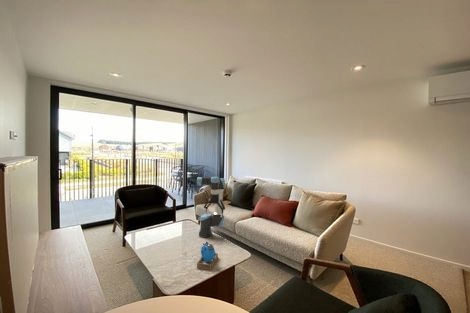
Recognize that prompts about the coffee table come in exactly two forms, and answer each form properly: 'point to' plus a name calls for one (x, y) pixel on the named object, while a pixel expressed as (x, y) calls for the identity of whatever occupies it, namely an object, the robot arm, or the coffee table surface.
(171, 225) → the coffee table surface
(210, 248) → the alarm clock
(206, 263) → the open rectangular wooden box
